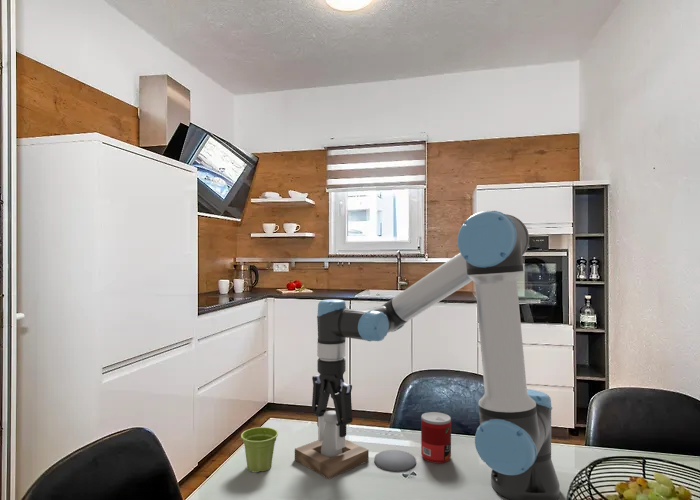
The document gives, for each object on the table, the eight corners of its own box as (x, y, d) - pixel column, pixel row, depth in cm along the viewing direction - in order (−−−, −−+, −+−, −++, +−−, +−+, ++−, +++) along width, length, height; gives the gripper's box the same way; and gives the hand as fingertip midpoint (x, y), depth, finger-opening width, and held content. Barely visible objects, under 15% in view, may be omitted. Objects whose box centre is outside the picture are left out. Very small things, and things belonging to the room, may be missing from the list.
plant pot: (256, 456, 125) (256, 424, 125) (285, 463, 121) (285, 430, 121) (233, 471, 116) (233, 437, 116) (263, 479, 112) (263, 444, 112)
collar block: (368, 460, 122) (368, 449, 122) (328, 478, 112) (328, 466, 112) (333, 444, 132) (333, 434, 132) (294, 459, 122) (294, 448, 122)
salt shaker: (316, 461, 121) (316, 412, 121) (329, 453, 126) (329, 406, 126) (333, 467, 118) (333, 417, 118) (346, 459, 123) (346, 411, 123)
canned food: (451, 465, 120) (451, 423, 120) (420, 462, 121) (420, 420, 121) (450, 452, 127) (450, 412, 127) (421, 449, 129) (421, 410, 129)
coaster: (424, 461, 121) (424, 459, 121) (397, 475, 114) (397, 473, 114) (393, 448, 129) (393, 446, 129) (365, 460, 122) (365, 458, 122)
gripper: (367, 361, 118) (367, 451, 118) (319, 349, 132) (319, 429, 132) (345, 366, 113) (345, 460, 113) (298, 353, 127) (298, 436, 127)
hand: (331, 443), depth 122 cm, fingers open, 6 cm apart
